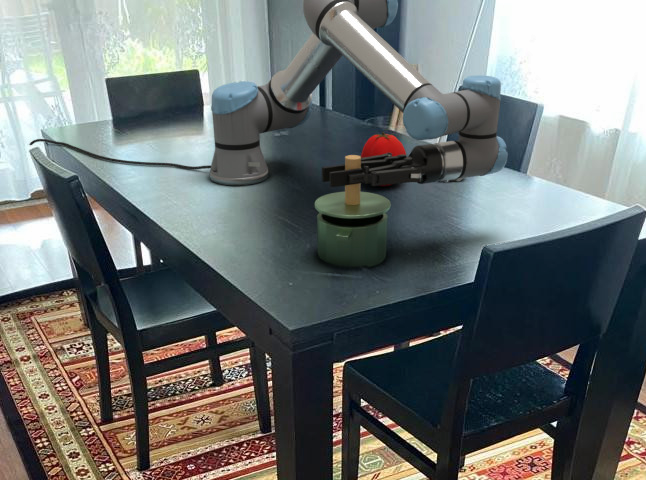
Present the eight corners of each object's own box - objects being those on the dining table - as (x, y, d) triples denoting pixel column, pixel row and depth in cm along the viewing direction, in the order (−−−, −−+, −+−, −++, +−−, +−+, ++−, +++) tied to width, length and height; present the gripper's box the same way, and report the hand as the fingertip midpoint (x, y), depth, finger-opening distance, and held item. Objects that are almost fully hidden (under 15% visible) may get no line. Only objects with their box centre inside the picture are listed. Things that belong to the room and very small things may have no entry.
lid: (306, 218, 144) (305, 165, 139) (324, 194, 157) (324, 145, 152) (383, 224, 141) (385, 170, 136) (395, 199, 154) (397, 149, 149)
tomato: (353, 189, 192) (353, 136, 186) (369, 175, 202) (370, 125, 196) (397, 194, 188) (399, 140, 182) (411, 180, 198) (413, 129, 192)
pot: (307, 271, 147) (306, 229, 143) (329, 236, 163) (329, 198, 159) (376, 277, 144) (377, 235, 140) (392, 241, 160) (394, 202, 156)
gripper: (454, 192, 147) (344, 209, 139) (413, 170, 160) (310, 184, 152) (457, 153, 144) (344, 168, 135) (415, 135, 157) (309, 147, 148)
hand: (326, 177), depth 144 cm, fingers closed on lid, 3 cm apart
